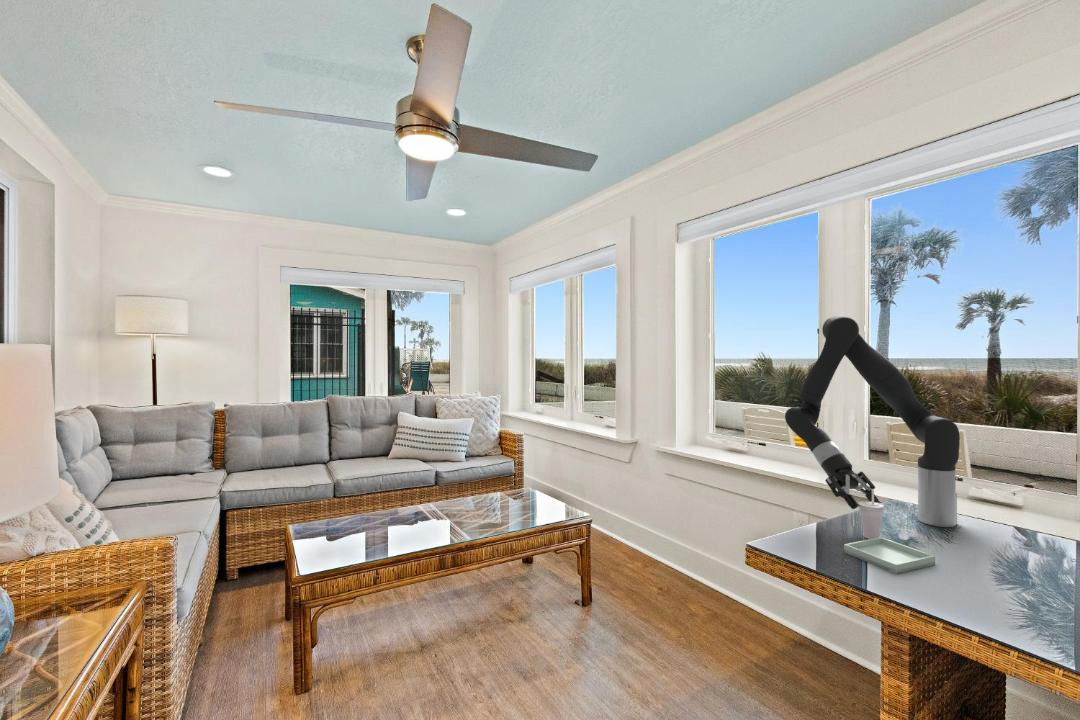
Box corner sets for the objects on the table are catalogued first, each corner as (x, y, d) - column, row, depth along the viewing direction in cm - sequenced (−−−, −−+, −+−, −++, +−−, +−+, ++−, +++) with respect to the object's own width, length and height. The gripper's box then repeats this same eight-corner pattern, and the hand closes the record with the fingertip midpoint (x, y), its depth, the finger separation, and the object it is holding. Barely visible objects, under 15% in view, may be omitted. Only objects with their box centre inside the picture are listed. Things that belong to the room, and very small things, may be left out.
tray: (880, 544, 138) (880, 536, 138) (935, 564, 125) (935, 556, 125) (844, 552, 133) (843, 544, 133) (896, 573, 120) (896, 564, 120)
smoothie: (889, 541, 140) (889, 492, 140) (867, 541, 141) (866, 492, 140) (875, 533, 147) (874, 486, 147) (853, 533, 147) (852, 486, 147)
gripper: (821, 454, 151) (857, 502, 140) (855, 450, 155) (892, 496, 145) (807, 468, 156) (840, 515, 145) (840, 464, 160) (875, 509, 150)
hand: (866, 506), depth 145 cm, fingers open, 8 cm apart
